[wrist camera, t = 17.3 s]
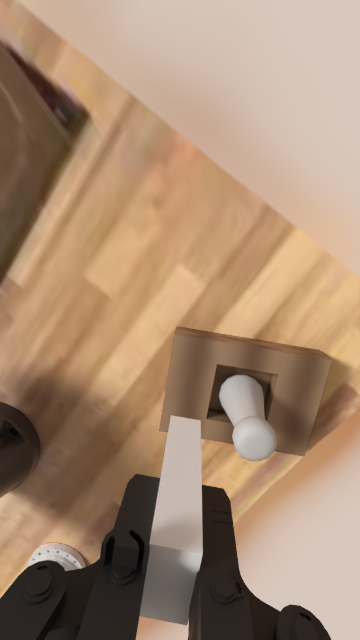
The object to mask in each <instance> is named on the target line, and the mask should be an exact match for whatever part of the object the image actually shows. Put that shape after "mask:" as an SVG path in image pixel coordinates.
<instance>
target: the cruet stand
mask: <svg viewBox="0 0 360 640" xmlns="http://www.w3.org/2000/svg"><path fill="white" fill-rule="evenodd" d="M331 364H332V360H331V359H330V358H329V357H327V356H326V355H325V354H323V353H322V352H321V351H320V350H315V349H309V348H303V347H297V346H291V345H285V344H279V343H273V342H267V341H261V340H255V339H249V338H243V337H237V336H231V335H225V334H219V333H213V332H207V331H201V330H195V329H189V328H183V327H176V331H175V334H174V340H173V347H172V353H171V359H170V366H169V372H168V378H167V385H166V391H165V397H164V404H163V410H162V416H161V423H160V429H159V431H163V432H168V430H169V424H170V418H171V415H172V416H178V417H184V418H190V419H195V420H201V438H203V439H208V440H214V441H220V442H225V443H231V444H234V442H233V438H232V434H233V431H234V426H233V424H232V422H231V420H230V419H229V417H228V415H227V414H226V412H225V410H224V408H223V407H222V405H221V402H220V398H219V393H220V389H221V385H222V384H223V383H224V382H225V381H226V380H227V378H228V377H230V376H234V375H239V374H245V375H248V376H250V377H252V378H254V379H255V380H256V381H257V382H258V383H259V384H260V385H261V387H262V391H263V395H264V415H265V420H266V421H267V422H268V423H269V424H270V425H271V426H272V428H273V429H274V432H275V437H276V442H277V444H276V448H275V451H276V452H282V453H288V454H293V455H299V456H304V455H305V452H306V448H307V445H308V442H309V438H310V435H311V431H312V428H313V425H314V421H315V418H316V415H317V411H318V408H319V404H320V401H321V398H322V394H323V391H324V388H325V384H326V381H327V377H328V374H329V371H330V367H331Z"/></svg>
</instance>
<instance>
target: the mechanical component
mask: <svg viewBox="0 0 360 640" xmlns="http://www.w3.org/2000/svg"><path fill="white" fill-rule="evenodd" d="M44 560H52V561H56V562H58V563H59V564H61V565H62V566H63V567H64V569H65V571H69V570H75V569H81V568H84V567H86V566H85V562H84V560H83V558H82V556H81V555H80V554H79V553H78V552H77V551H76V550H74V549H73V548H71V547H69V546H67V545H64V544H60V543H48V544H44V545H41V546H40V547H38V548H37V549H36V550H35V551H34V553H33V554H32V556H31V558H30V560H29V563H28V567H29V566H31V565H33V564H35V563H36V562H38V561H44Z"/></svg>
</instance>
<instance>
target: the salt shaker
mask: <svg viewBox="0 0 360 640" xmlns="http://www.w3.org/2000/svg"><path fill="white" fill-rule="evenodd" d="M219 398H220V402H221V405H222V407H223V408H224V410H225V412H226V414H227V415H228V417H229V419H230V420H231V422H232V424H233V426H234V431H233V434H232V438H233V442H234V446H235V449H236V451H237V452H238V453H239V454H240V455H241V457H242V458H245V459H247V460H250V461H261V460H264V459H266V458H268V457H269V456H270V455H271V454H272V453H273V452H274V451H275V448H276V444H277V442H276V437H275V432H274V429H273V428H272V426H271V425H270V424H269V423H268V422H267V421H266V420H265V415H264V395H263V391H262V387H261V385H260V384H259V383H258V382H257V381H256V380H255V379H254V378H252V377H250V376H248V375H245V374H239V375H234V376H230V377H228V378H227V380H226V381H225V382H224V383H223V384H222V385H221V389H220V393H219Z"/></svg>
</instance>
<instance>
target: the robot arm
mask: <svg viewBox="0 0 360 640" xmlns="http://www.w3.org/2000/svg"><path fill="white" fill-rule="evenodd" d="M39 455H40V444H39V439H38V436H37V434H36V431H35V429H34V428H33V426H32V425H31V423H30V422H29V421H28V420H27V418H26V417H25V416H24V415H22V414H21V413H20V412H19V411H17V410H16V409H14V408H13V407H11V406H9V405H6V404H4V403H1V402H0V498H1V497H2V496H4V495H5V494H7V493H8V492H9V491H11V490H13V489H15V488H16V487H18V486H19V485H20V484H22V483H23V482H24V481H25V480H26V478H27V477H28V476H29V475H30V473H31V472H32V471H33V469H34V468H35V466H36V464H37V462H38V459H39ZM139 616H143V617H147V618H153V619H158V620H163V621H168V622H173V623H179V624H183V625H187V623H188V618H189V636H188V640H331V638H330V636H329V634H328V632H327V631H326V629H325V628H324V626H323V625H322V623H321V622H320V621H319V620H318V619H317V618H316V617H315V616H314V615H313V614H312V613H311V612H310V611H308V610H306V609H305V608H303V607H301V606H297V605H289V606H286V607H284V608H283V609H282V611H281V612H280V611H278V610H276V609H275V608H273V607H271V606H270V605H268V604H266V603H264V602H262V601H261V600H260V599H258V598H257V597H255V595H254V594H253V593H252V592H251V591H250V590H249V589H248V588H247V586H246V585H245V583H244V581H243V579H242V577H241V575H240V571H239V566H238V558H237V551H236V543H235V536H234V527H233V520H232V512H231V504H230V500H229V498H228V496H227V494H226V492H225V491H224V489H222V488H217V487H211V486H206V485H202V471H201V420H195V419H190V418H184V417H178V416H172V415H171V418H170V424H169V430H168V436H167V442H166V448H165V454H164V459H163V465H162V471H161V477H160V478H156V477H151V476H145V475H139V474H135V475H134V477H133V478H132V479H131V480H130V481H129V482H128V484H127V487H126V490H125V493H124V497H123V500H122V503H121V507H120V510H119V513H118V516H117V519H116V523H115V526H114V529H113V530H111V531H110V532H109V533H108V534H107V535H106V537H105V538H104V540H103V542H102V547H101V556H100V559H99V560H98V561H96V562H95V563H93V564H91V565H90V566H87V567H84V568H81V569H75V570H69V571H65V569H64V567H63V566H62V565H61V564H59V563H58V562H56V561H52V560H44V561H38V562H36V563H35V564H33V565H31V566H29V567H27V568H26V569H25V570H24V571H23V572H22V573H21V574H20V575H19V576H18V577H17V579H16V580H15V581H14V582H13V584H12V585H11V586H10V587H9V588H8V590H7V591H6V592H5V593H4V595H3V596H2V597H1V598H0V640H135V639H136V633H137V627H138V621H139Z"/></svg>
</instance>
